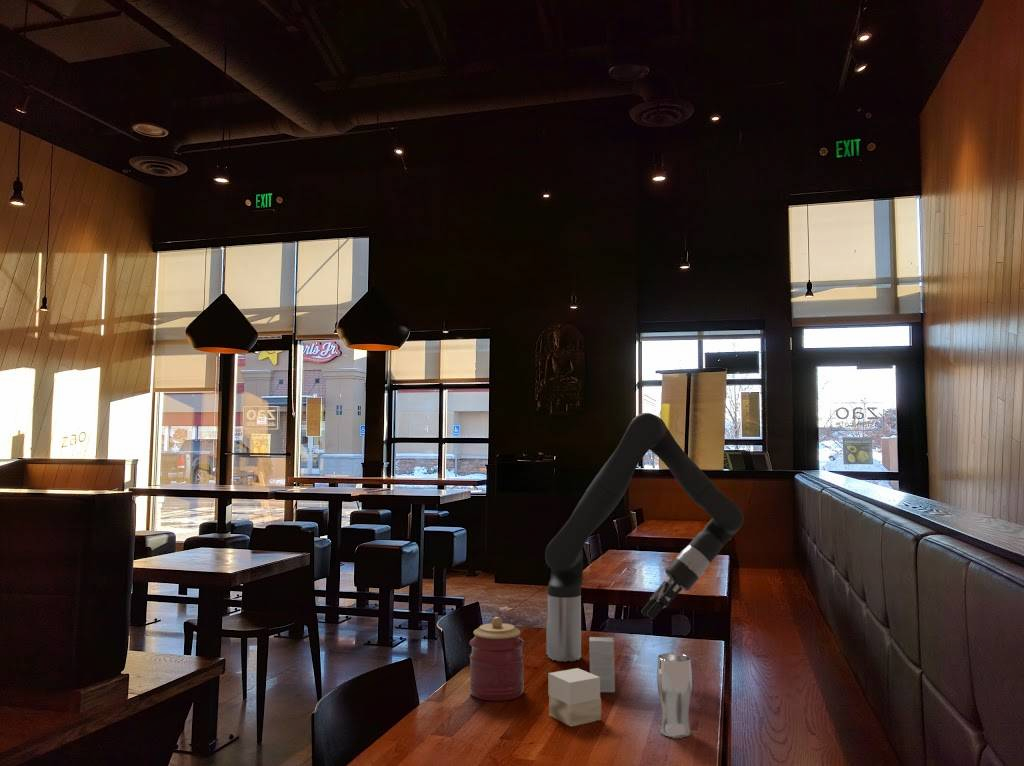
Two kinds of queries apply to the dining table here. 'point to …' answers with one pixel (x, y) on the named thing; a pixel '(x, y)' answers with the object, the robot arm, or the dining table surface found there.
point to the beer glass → (674, 693)
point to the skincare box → (603, 661)
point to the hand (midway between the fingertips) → (646, 615)
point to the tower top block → (574, 686)
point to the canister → (496, 662)
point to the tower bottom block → (575, 711)
